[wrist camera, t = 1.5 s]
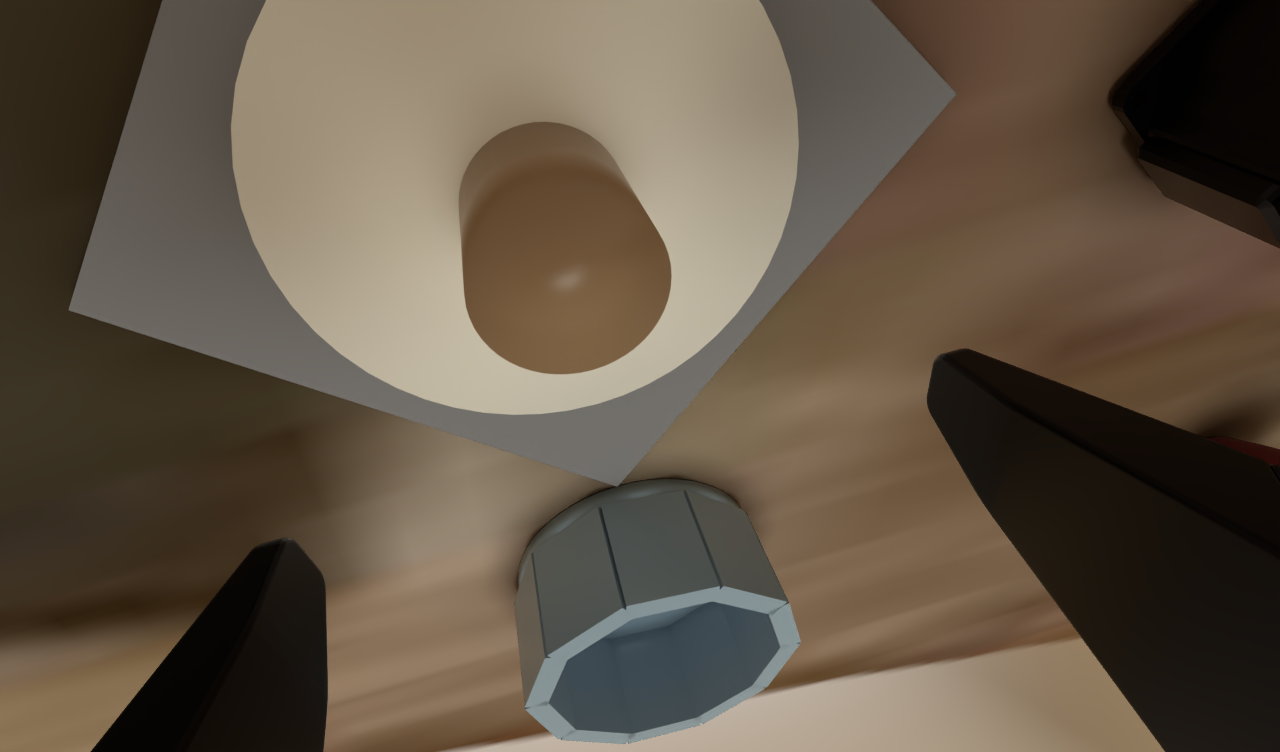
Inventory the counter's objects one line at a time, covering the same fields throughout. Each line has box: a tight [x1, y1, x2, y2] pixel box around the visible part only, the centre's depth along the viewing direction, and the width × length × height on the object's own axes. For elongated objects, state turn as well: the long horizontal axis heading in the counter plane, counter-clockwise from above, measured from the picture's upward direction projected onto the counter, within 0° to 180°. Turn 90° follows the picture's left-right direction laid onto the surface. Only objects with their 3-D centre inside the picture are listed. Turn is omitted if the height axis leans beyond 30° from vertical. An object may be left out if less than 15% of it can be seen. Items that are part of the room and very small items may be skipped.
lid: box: [231, 0, 799, 415], centre depth 14 cm, size 13×13×5 cm
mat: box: [69, 0, 956, 487], centre depth 16 cm, size 16×16×1 cm
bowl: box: [514, 479, 801, 744], centre depth 25 cm, size 10×10×5 cm
